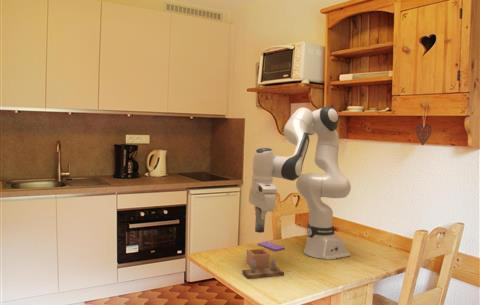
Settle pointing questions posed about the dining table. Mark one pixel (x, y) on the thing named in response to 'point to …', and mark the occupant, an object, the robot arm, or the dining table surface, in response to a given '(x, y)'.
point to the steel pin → (259, 221)
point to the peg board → (262, 271)
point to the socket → (258, 258)
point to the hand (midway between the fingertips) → (260, 217)
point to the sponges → (271, 246)
